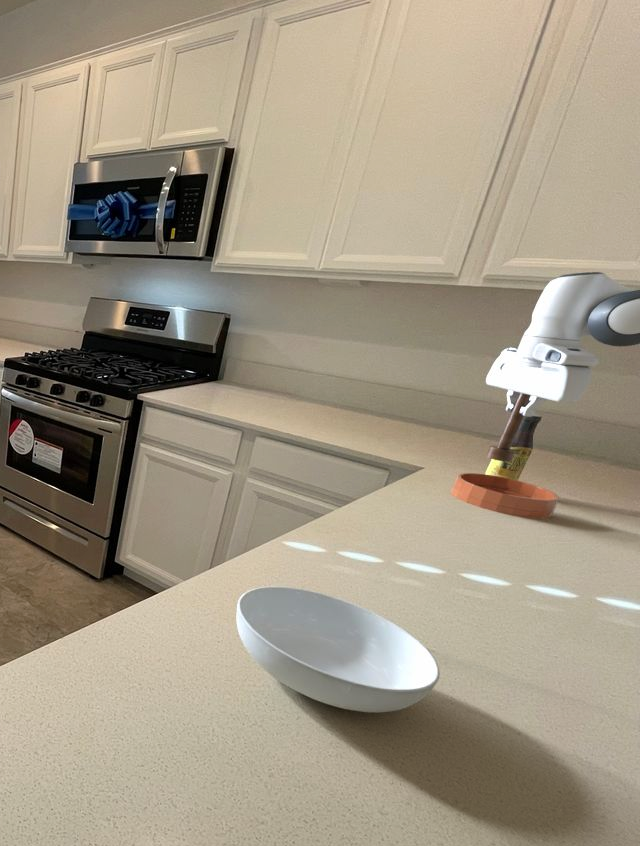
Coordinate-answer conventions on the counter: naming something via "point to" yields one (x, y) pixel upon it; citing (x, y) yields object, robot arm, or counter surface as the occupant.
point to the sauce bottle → (517, 451)
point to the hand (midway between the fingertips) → (518, 413)
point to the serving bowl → (334, 650)
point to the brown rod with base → (509, 432)
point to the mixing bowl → (505, 495)
